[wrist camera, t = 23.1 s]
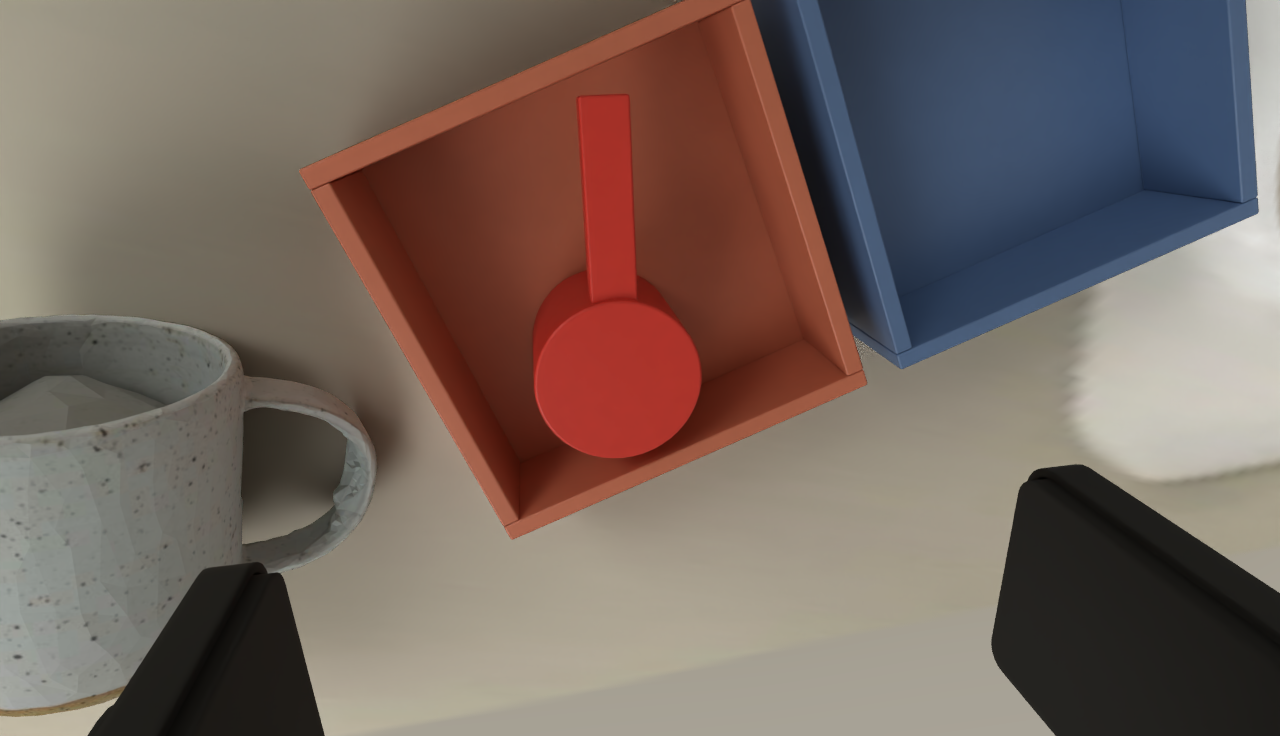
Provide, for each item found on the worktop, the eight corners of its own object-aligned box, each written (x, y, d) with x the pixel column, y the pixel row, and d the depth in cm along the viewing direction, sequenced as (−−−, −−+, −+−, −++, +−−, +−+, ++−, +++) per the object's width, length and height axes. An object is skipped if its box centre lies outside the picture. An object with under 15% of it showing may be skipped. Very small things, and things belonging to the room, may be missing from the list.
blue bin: (736, -17, 20) (784, -44, 16) (1100, -178, 20) (1232, -242, 16) (843, 329, 24) (901, 370, 20) (1146, 196, 24) (1259, 213, 20)
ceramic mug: (25, 555, 23) (-198, 766, 15) (-21, 302, 20) (-317, 415, 13) (382, 559, 25) (329, 745, 18) (384, 330, 22) (322, 440, 15)
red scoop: (675, 396, 23) (702, 451, 20) (538, 408, 23) (541, 467, 19) (668, 93, 20) (700, 90, 17) (509, 99, 20) (506, 98, 16)
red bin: (339, 157, 20) (296, 170, 16) (703, -3, 20) (743, -26, 16) (513, 473, 24) (511, 541, 20) (815, 341, 24) (868, 384, 20)
